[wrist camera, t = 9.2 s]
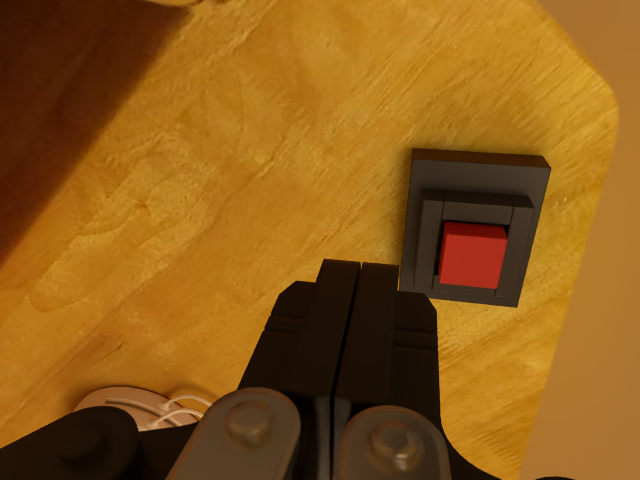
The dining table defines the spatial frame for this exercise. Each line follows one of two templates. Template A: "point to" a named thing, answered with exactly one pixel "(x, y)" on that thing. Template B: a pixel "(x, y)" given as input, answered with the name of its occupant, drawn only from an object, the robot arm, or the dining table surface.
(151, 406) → the lotus flower trinket box
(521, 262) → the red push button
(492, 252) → the red button cap
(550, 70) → the dining table surface
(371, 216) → the dining table surface
